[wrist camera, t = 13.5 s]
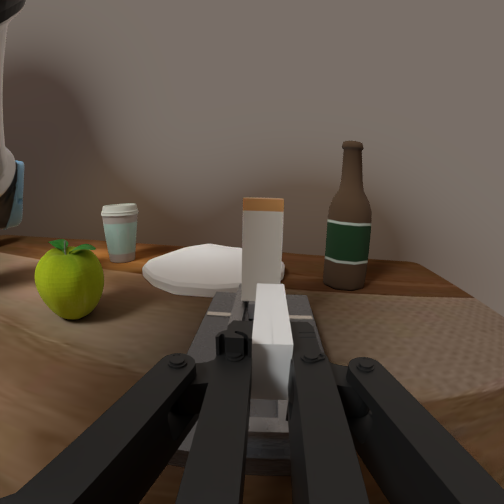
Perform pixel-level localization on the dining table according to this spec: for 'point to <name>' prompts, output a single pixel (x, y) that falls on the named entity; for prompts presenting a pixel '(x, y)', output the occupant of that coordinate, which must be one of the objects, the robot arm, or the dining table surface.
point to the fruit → (70, 279)
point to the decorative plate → (198, 270)
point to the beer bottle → (348, 226)
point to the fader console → (261, 411)
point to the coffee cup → (120, 231)
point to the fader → (261, 245)
